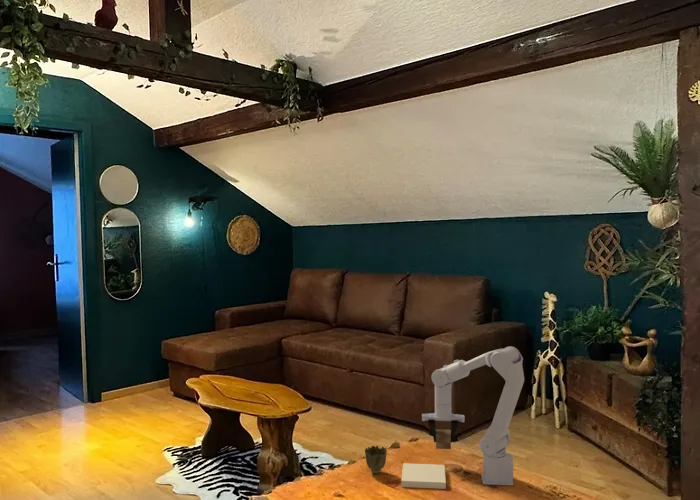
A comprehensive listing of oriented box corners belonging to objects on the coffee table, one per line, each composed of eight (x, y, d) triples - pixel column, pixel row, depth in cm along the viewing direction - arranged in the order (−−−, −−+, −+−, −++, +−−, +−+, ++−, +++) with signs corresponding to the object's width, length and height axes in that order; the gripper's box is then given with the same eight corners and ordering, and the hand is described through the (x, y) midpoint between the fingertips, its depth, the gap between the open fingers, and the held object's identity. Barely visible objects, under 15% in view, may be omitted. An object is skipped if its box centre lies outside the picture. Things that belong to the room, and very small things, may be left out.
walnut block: (450, 443, 212) (450, 429, 212) (450, 449, 207) (450, 434, 207) (435, 443, 213) (435, 429, 213) (436, 448, 208) (436, 434, 208)
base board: (444, 470, 206) (444, 464, 206) (445, 488, 192) (445, 482, 192) (403, 468, 207) (403, 463, 207) (401, 486, 194) (401, 480, 193)
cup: (361, 474, 203) (360, 451, 203) (370, 466, 210) (370, 444, 209) (381, 479, 200) (381, 455, 199) (390, 470, 206) (390, 447, 206)
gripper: (463, 399, 212) (463, 437, 213) (422, 398, 214) (422, 436, 215) (464, 406, 205) (465, 445, 206) (421, 404, 207) (422, 443, 208)
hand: (443, 441), depth 210 cm, fingers closed on walnut block, 5 cm apart
